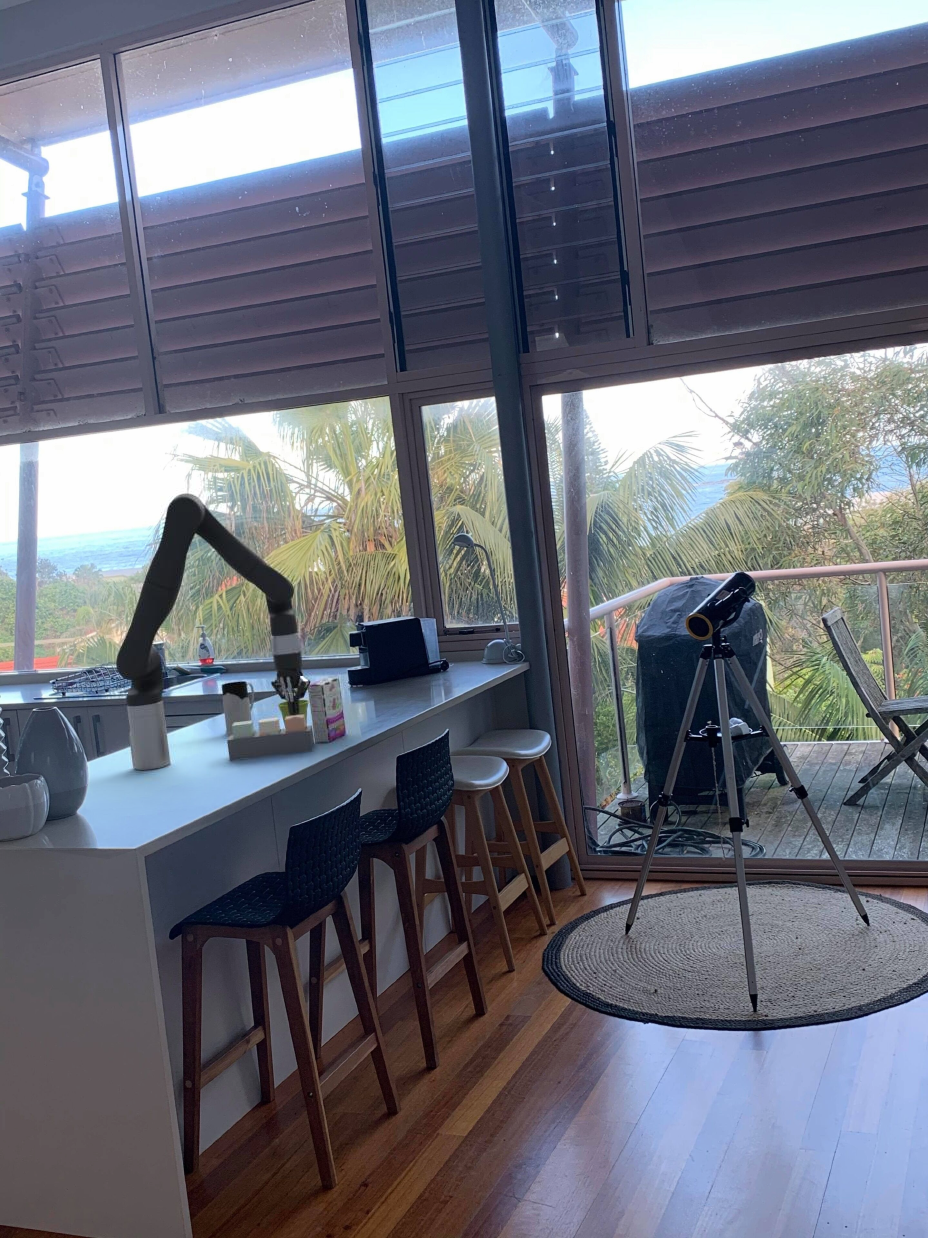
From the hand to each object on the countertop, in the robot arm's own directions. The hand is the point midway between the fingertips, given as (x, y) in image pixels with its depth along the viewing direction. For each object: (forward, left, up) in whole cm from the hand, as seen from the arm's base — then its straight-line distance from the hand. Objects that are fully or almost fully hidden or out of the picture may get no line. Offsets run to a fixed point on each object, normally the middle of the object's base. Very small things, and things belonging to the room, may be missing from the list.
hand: (294, 714), depth 307 cm
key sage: (-11, -9, -6) cm, 15 cm away
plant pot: (-22, +21, -10) cm, 32 cm away
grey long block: (-6, -5, -10) cm, 12 cm away
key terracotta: (0, 0, -6) cm, 6 cm away
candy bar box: (-1, +14, -10) cm, 17 cm away
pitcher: (-43, +20, -10) cm, 48 cm away
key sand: (-6, -5, -6) cm, 9 cm away
